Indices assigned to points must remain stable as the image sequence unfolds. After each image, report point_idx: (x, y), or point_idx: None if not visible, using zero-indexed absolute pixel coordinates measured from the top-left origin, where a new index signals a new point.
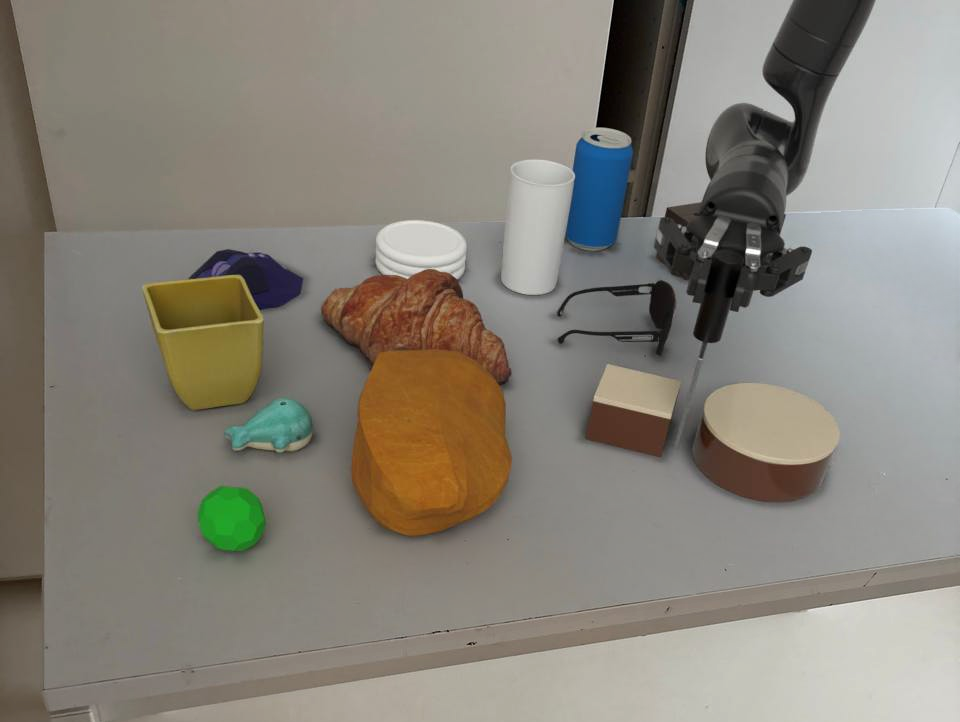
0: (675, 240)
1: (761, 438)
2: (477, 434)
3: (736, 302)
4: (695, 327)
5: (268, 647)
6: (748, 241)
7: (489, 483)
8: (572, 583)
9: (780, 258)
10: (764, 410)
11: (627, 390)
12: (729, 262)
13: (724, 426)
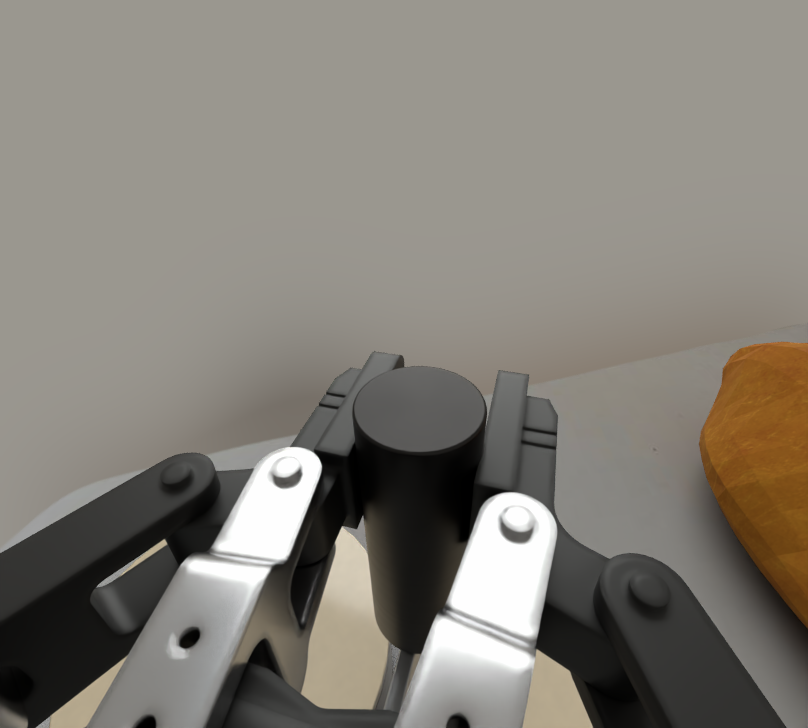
0: (728, 657)
1: None
2: (795, 423)
3: None
4: None
5: (782, 334)
6: (225, 640)
7: (719, 413)
8: (560, 403)
9: (94, 553)
10: None
11: (587, 724)
12: (426, 366)
13: (354, 591)
